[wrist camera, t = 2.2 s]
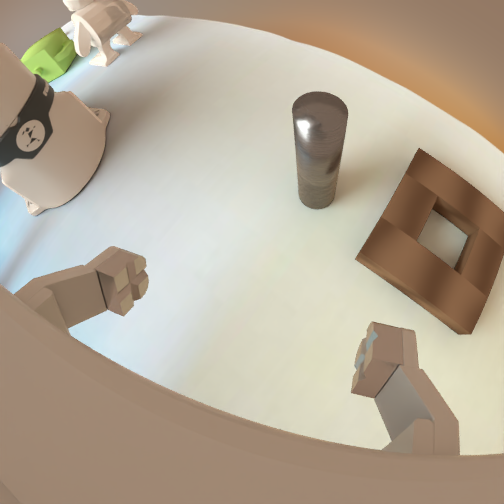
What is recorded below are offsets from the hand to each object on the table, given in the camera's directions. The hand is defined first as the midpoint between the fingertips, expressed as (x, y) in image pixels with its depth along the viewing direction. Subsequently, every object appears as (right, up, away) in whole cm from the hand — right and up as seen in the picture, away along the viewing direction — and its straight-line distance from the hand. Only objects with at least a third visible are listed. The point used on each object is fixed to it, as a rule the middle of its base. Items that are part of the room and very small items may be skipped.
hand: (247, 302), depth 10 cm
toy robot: (-25, +40, +33) cm, 58 cm away
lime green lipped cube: (-45, +42, +37) cm, 72 cm away
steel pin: (+6, +7, +18) cm, 21 cm away
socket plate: (+18, +3, +15) cm, 24 cm away
